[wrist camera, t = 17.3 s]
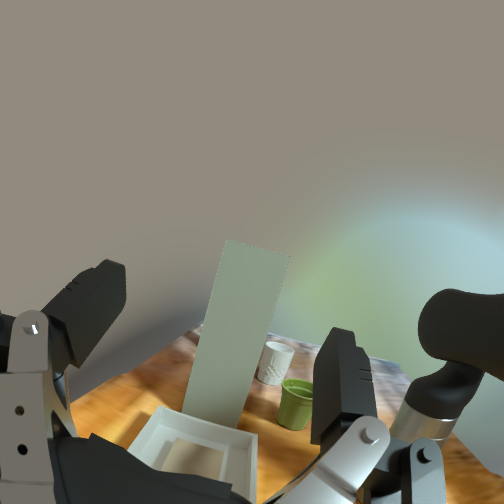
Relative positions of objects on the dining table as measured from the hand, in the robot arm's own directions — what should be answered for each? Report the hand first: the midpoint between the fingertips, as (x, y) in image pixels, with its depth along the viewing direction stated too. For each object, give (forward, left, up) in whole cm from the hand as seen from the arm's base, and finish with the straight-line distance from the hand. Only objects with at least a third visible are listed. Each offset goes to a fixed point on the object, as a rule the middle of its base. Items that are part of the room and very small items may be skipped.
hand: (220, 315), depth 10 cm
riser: (0, -44, -28) cm, 52 cm away
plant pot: (-16, -42, -28) cm, 53 cm away
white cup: (-12, -63, -28) cm, 70 cm away
